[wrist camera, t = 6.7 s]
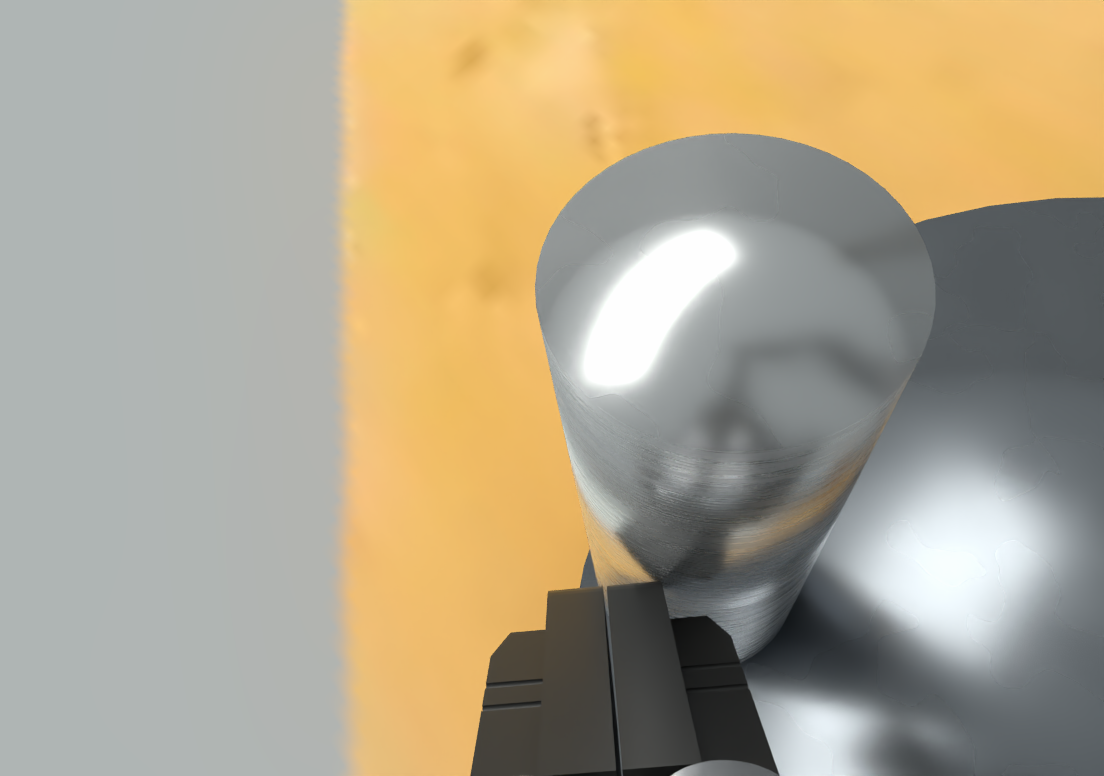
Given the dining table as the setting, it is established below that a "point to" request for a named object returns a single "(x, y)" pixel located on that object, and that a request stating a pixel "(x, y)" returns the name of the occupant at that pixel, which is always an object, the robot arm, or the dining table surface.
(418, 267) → the dining table surface
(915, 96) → the dining table surface
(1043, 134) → the dining table surface
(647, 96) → the dining table surface
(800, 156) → the turntable
